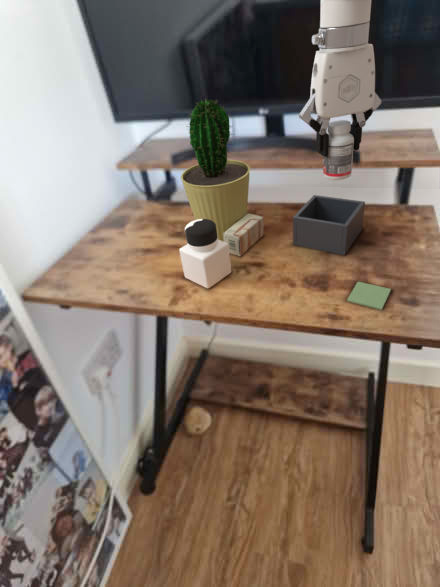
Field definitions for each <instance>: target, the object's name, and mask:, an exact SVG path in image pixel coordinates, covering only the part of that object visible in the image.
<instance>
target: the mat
mask: <svg viewBox="0 0 440 587" xmlns="http://www.w3.org/2000/svg"><path fill="white" fill-rule="evenodd" d="M391 292H392V289H391V288H388V287H384V286H380V285H375V284H371V283H367V282H363V281H357V282H356V283H355V285H354V287H353V289H352V290H351V292H350V294H349V296H348V297H347V299H346V302H347V303H353V304H356V305H360V306H364V307H368V308H372V309H375V310H380V311H382V310H383V308H384V307H385V304H386V302H387V300H388V298H389V296H390V294H391Z"/></svg>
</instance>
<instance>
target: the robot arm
mask: <svg viewBox="0 0 440 587" xmlns="http://www.w3.org/2000/svg"><path fill="white" fill-rule="evenodd" d="M319 9H320V12H319V13H320V16H319V17H320V18H319V19H320V20H319V28H318V33H316V34H313V35H312V36H311V43H312V45H315V46H316V45H317V46H318V48H319V50H316V51H315V55H314V61H313V67H312V73H311V79H310V80H311V81H310V83H311V84H310V96H309V99H308V100H307V102H306V103H305V105H304V106H303V108H302V109H301V111H300V113H299V114H298V117H299V119H300V120H302V121H303V122H304V123H306V124H307V125H308V126H309V127H310V128H311V129H312V130H313V131H314V132H315V133H316V138H315V150H316V152H317V153H318V154H319V155H321V156H322V157H323V156H324V157H326V156H327V155H328V149H329V133H328V124H329V123H330V122H331V119H335V118H340V117H345V116H349V115H350V118H351V130H350V132H349V133H350V134H352V135H353V137H354V145H353V151H359V150H360V144H361V143H362V135H363V128H364V127H365V126H366V124H367V121H368V120H369V119H370V117H371V116H372V115H373V113H374V112H375V111H376V110H377V109H378V108H379V107H380V106H381V104H382V99H381V98H380V97H379V95H378V94H377V93H376V91H375V90H376V64H375V52H374V45H373V44H372V43H369V33H370V24H371V23H370V21H371V11H372V10H371V9H372V0H320V8H319ZM312 114H316V119H315V118H313V117H312Z"/></svg>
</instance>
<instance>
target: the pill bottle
mask: <svg viewBox="0 0 440 587" xmlns="http://www.w3.org/2000/svg"><path fill="white" fill-rule="evenodd" d="M351 124H352V121H351V120H350V121H349V120H345V119H338V120H333V121H329V124H328V127H327V134H328V135H329V149H328V155H327V156H326V157H324V156H322V157H323V158H322V176H323V177H324V178H325V179H327V180H330V181H341V180H345V179H348V178H350V177H351V176H352V172H353V162H354V161H353V160H354V149H353V145H354V137H353V135H352V134H350V133H349V132H350V130H351Z"/></svg>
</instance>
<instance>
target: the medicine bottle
mask: <svg viewBox="0 0 440 587" xmlns="http://www.w3.org/2000/svg"><path fill="white" fill-rule="evenodd" d="M184 234H185V240H186V243H187V244H185V245H183V246H182V247H180V248H179V250H178V252H179V258H180V261H181V266H182V270H183V275H184V278H185V279H187V280H189V281H191V282H193V283H195V284H197V285H199V286H200V287H201V286H202V287H204V288H205V289H211V288H212V287H214V286H215V285H216V284H217V283H219V282H221V280H223V279H224V278H226V277H227V276H228V275H230V274H231V273H232V264H231V258H230V257H231V256H230V253H229V247H228V243H226V242H223V241H220V240H218V236H217V229H216V224H215V223H214V222H213V221H212V220H209V219H198V220H195V219H194V220H192V221H190V222H188V223H187V224H186V226H185V227H184Z"/></svg>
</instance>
